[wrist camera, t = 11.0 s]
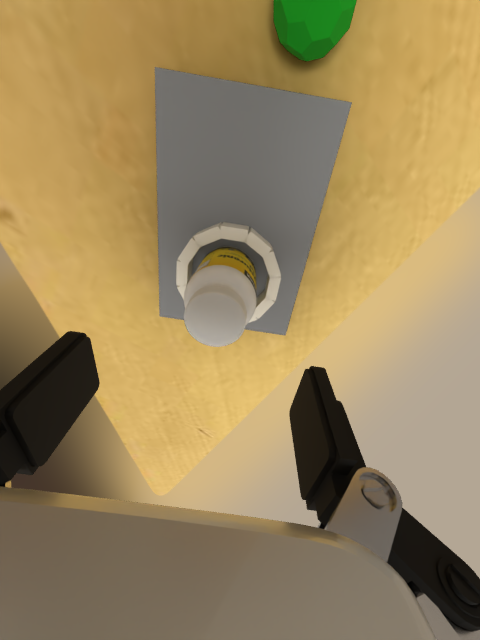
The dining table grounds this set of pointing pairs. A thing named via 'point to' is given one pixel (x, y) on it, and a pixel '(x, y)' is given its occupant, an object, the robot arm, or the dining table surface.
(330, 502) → the robot arm
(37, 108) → the dining table surface
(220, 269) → the supplement bottle
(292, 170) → the pin board
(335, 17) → the polyhedron
